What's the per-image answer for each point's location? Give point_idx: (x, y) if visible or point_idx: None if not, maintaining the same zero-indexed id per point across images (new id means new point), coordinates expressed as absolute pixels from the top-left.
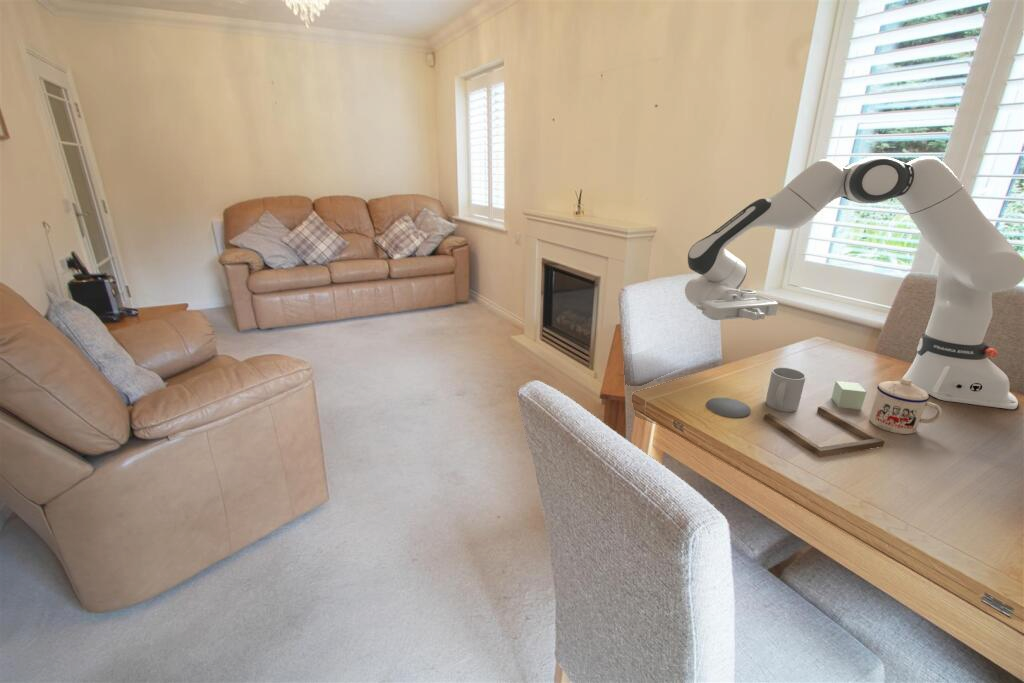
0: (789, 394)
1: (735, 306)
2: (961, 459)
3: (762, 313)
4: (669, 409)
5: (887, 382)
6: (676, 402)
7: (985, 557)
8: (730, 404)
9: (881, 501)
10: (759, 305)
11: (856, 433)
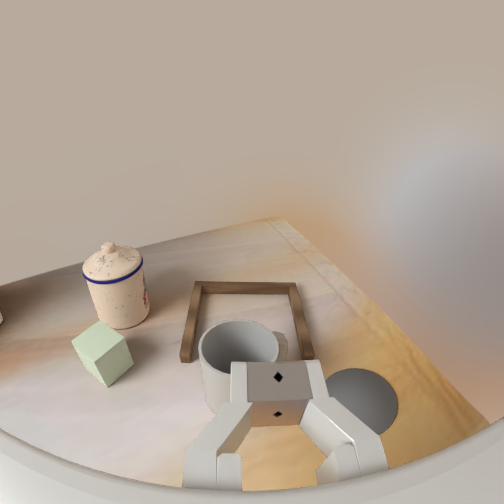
0: (253, 349)
1: (445, 454)
2: (144, 264)
3: (252, 362)
4: (456, 395)
5: (108, 269)
6: (445, 419)
7: (264, 224)
8: (351, 408)
9: (284, 250)
10: (138, 481)
11: (199, 307)
